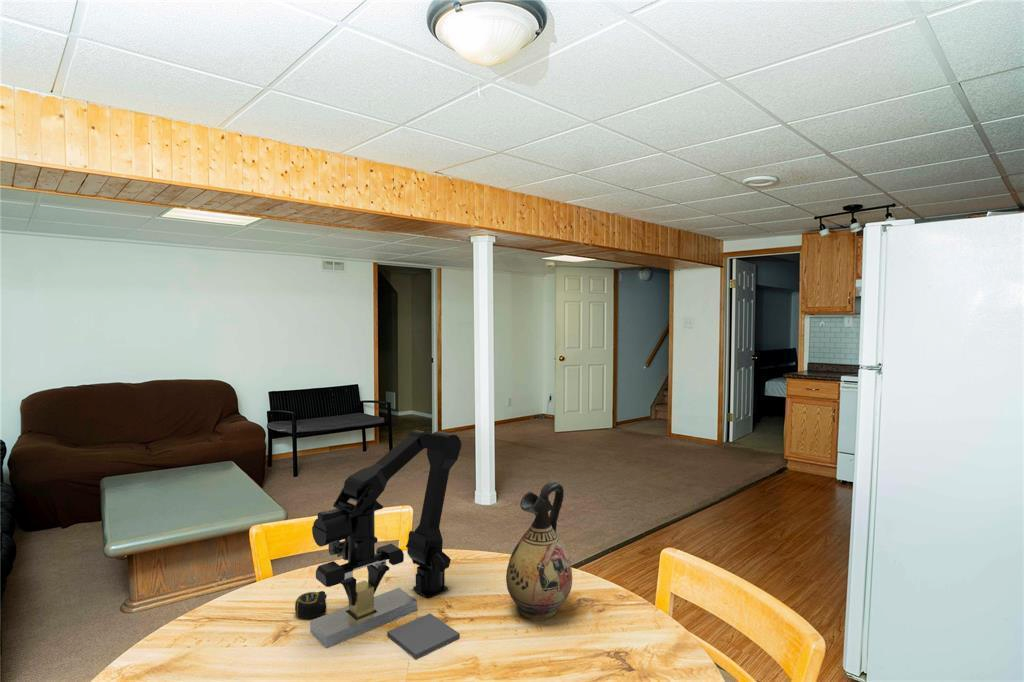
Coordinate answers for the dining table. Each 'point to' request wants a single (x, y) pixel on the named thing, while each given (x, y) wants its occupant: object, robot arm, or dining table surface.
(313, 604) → the tape measure
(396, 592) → the metal plate
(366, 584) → the brass block
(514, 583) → the ceramic jug
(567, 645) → the dining table surface
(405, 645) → the rubber mat
